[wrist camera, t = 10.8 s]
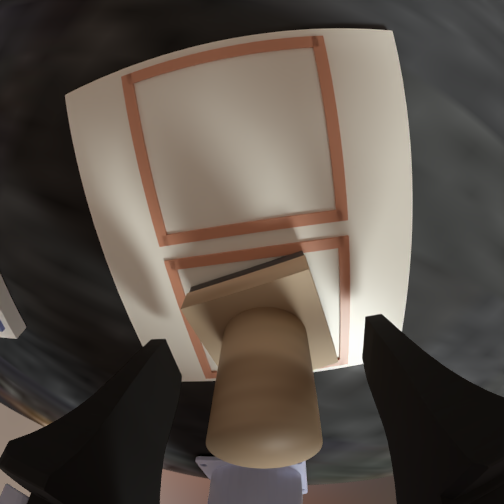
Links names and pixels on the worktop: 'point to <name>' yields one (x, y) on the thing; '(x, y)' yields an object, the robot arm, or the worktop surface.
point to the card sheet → (252, 177)
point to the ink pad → (9, 315)
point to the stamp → (263, 361)
